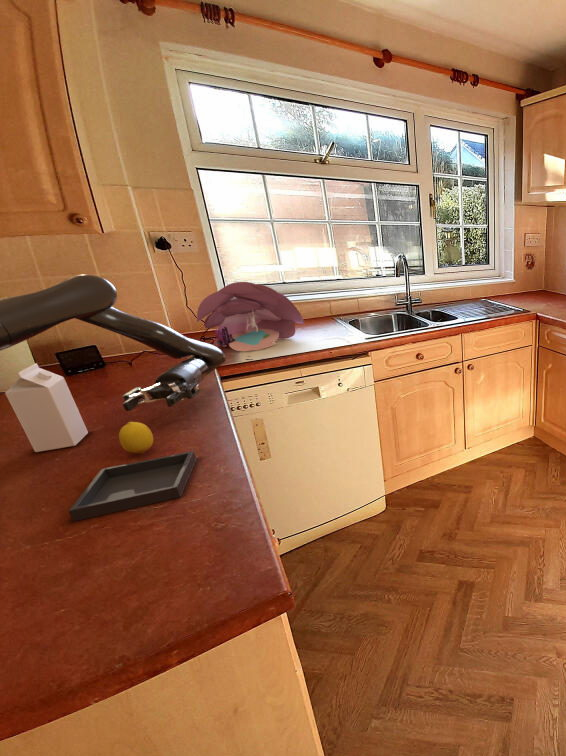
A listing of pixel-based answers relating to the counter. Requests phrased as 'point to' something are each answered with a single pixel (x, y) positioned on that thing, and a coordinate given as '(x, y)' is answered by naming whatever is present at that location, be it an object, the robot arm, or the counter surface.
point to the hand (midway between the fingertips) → (147, 405)
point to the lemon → (135, 437)
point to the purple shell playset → (249, 316)
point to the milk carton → (46, 409)
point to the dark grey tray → (134, 485)
